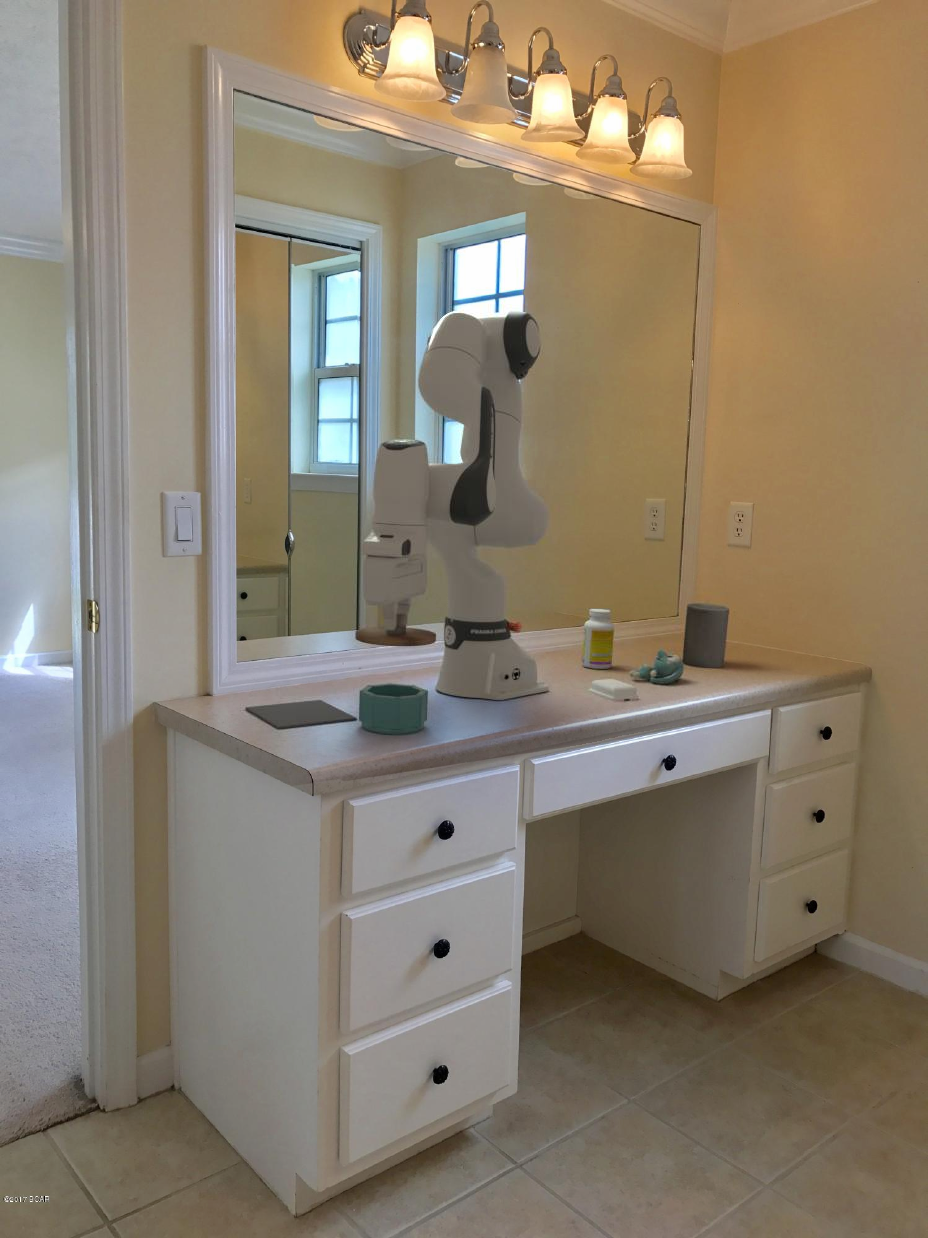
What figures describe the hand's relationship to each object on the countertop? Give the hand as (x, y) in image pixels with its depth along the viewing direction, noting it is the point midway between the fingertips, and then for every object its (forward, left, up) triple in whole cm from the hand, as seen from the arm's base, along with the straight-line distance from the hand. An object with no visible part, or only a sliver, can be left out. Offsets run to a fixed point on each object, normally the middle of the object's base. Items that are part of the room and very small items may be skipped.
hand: (396, 627), depth 158 cm
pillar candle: (-95, -19, -17) cm, 98 cm away
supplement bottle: (-68, -26, -17) cm, 74 cm away
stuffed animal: (-70, -10, -17) cm, 73 cm away
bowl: (0, 0, -16) cm, 16 cm away
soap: (-51, -3, -17) cm, 54 cm away
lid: (0, 0, -2) cm, 2 cm away
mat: (+10, -13, -16) cm, 23 cm away
